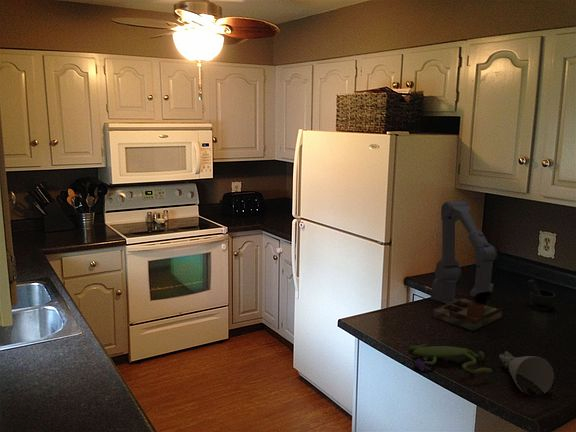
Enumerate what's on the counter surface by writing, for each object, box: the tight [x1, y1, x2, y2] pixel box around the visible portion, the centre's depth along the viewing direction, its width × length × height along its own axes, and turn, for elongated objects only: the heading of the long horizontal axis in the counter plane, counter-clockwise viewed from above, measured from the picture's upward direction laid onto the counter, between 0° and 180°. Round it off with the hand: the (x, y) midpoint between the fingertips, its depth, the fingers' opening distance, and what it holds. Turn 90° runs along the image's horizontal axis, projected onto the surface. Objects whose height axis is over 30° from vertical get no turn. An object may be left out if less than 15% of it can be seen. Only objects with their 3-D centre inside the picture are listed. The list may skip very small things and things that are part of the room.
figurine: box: [408, 342, 493, 374], centre depth 169 cm, size 18×27×6 cm
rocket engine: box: [498, 350, 555, 394], centre depth 161 cm, size 12×12×18 cm
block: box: [467, 300, 484, 318], centre depth 203 cm, size 4×4×4 cm
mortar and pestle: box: [527, 278, 557, 312], centre depth 219 cm, size 11×9×12 cm
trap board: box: [431, 297, 504, 332], centre depth 208 cm, size 18×22×5 cm
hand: (480, 309), depth 205 cm, fingers closed
